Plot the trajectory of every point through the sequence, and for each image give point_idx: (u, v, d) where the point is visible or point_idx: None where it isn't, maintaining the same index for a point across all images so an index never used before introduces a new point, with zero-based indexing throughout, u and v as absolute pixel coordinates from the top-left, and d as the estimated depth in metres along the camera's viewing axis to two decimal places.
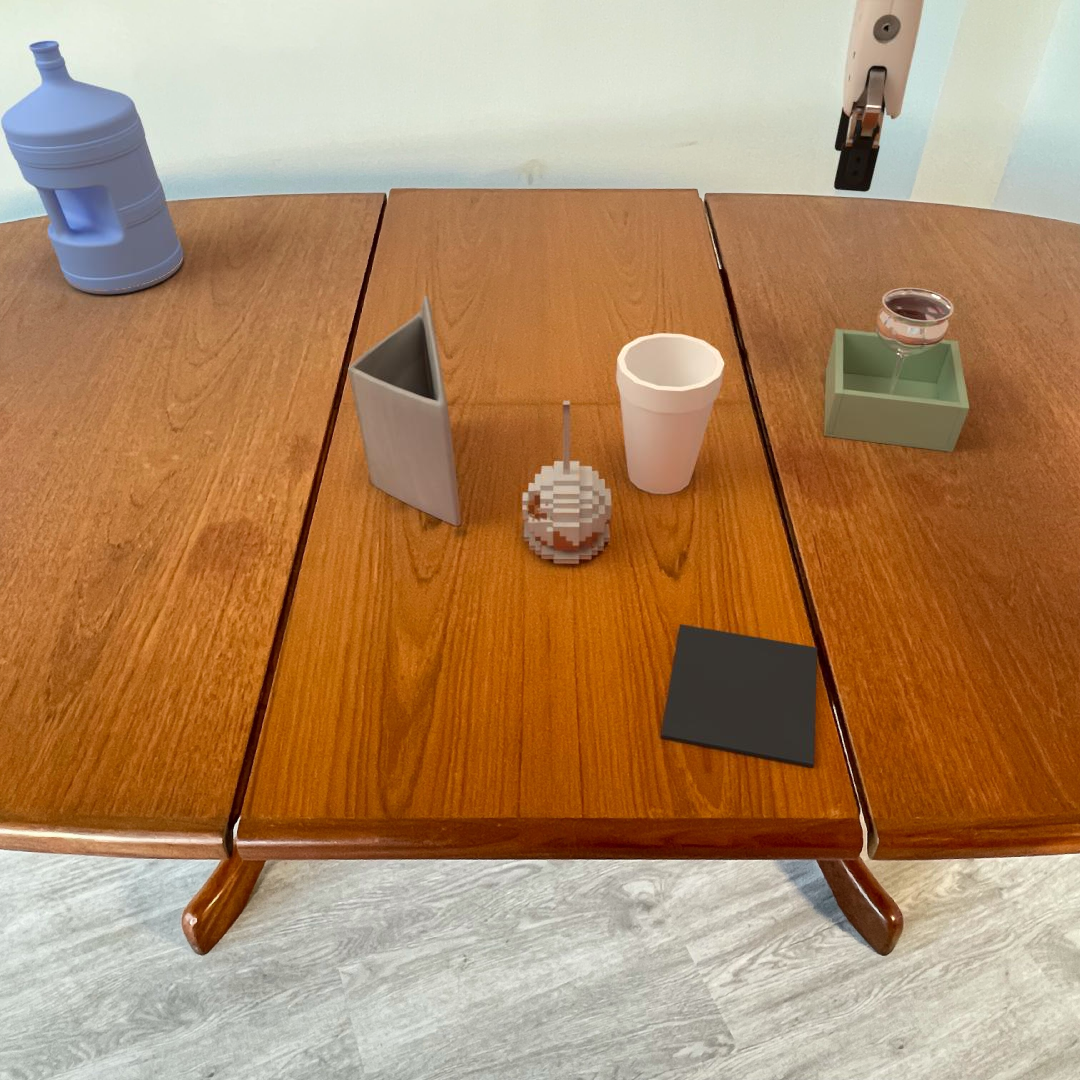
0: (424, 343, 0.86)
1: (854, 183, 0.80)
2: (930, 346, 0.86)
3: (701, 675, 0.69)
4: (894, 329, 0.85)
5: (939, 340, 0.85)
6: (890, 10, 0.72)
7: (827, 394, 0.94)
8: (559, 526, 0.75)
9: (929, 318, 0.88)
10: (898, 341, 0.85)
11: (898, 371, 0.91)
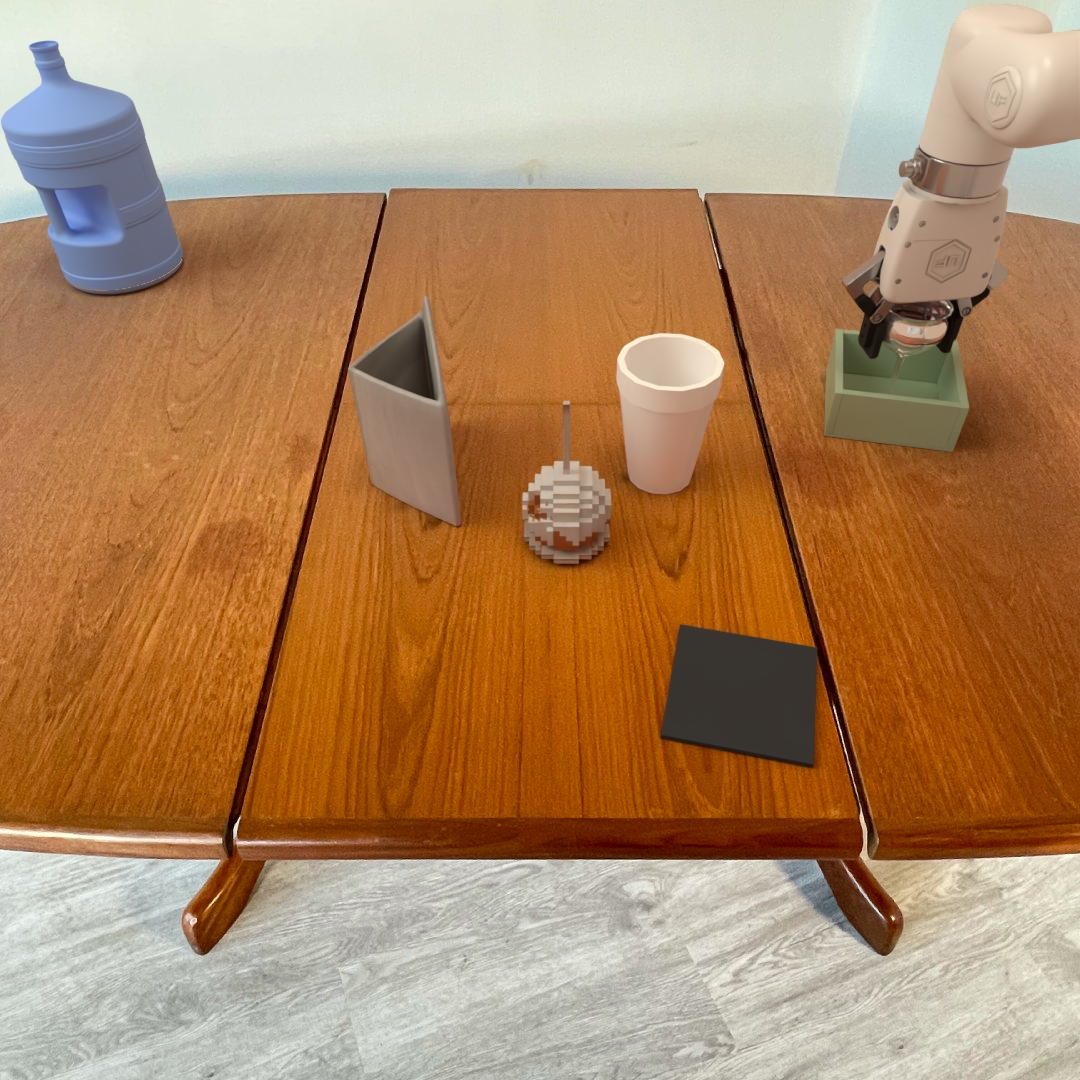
0: (424, 343, 0.86)
1: (860, 344, 0.88)
2: (930, 346, 0.86)
3: (701, 675, 0.69)
4: (894, 329, 0.85)
5: (939, 340, 0.85)
6: (899, 203, 0.78)
7: (827, 394, 0.94)
8: (559, 526, 0.75)
9: (929, 318, 0.88)
10: (898, 341, 0.85)
11: (898, 371, 0.91)
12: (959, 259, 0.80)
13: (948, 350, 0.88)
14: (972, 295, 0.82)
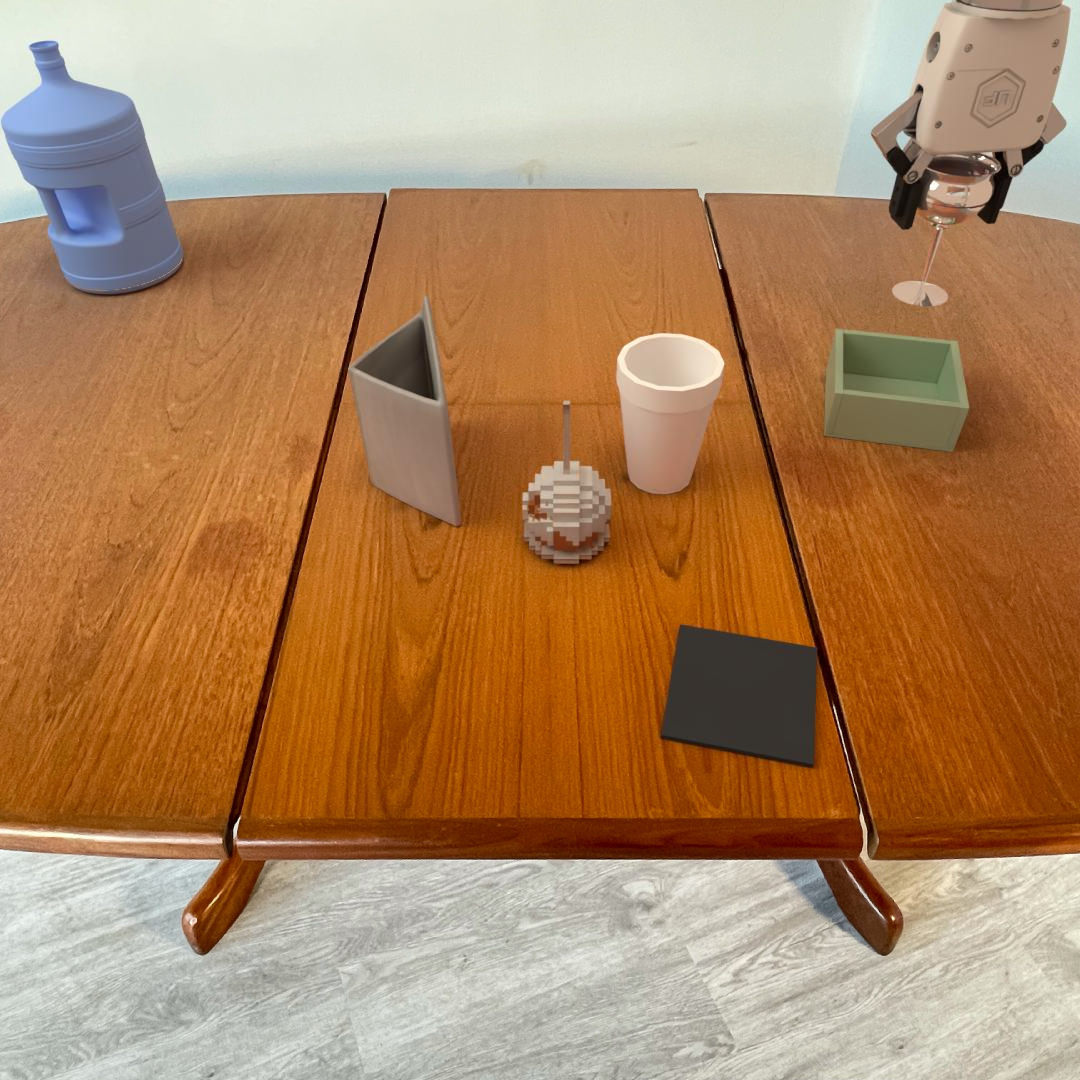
0: (424, 343, 0.86)
1: (891, 213, 0.76)
2: (973, 211, 0.74)
3: (701, 675, 0.69)
4: (932, 190, 0.73)
5: (984, 203, 0.74)
6: (940, 27, 0.67)
7: (827, 394, 0.94)
8: (559, 526, 0.75)
9: None
10: (937, 205, 0.74)
11: (934, 248, 0.79)
12: (1011, 96, 0.68)
13: (993, 220, 0.76)
14: (1024, 145, 0.70)
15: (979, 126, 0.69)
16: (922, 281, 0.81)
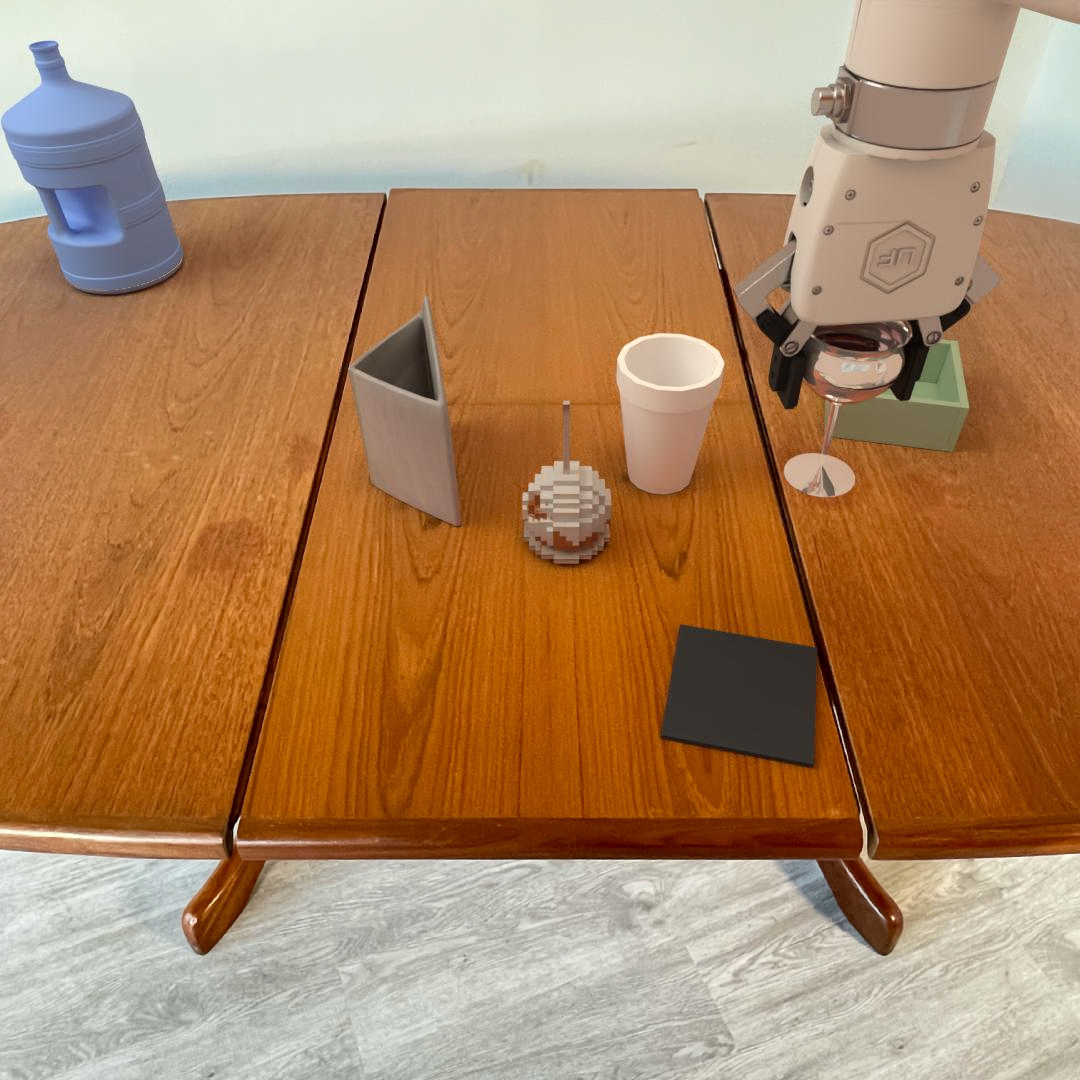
0: (424, 343, 0.86)
1: (771, 387, 0.57)
2: (876, 392, 0.55)
3: (701, 675, 0.69)
4: (818, 365, 0.54)
5: (890, 382, 0.54)
6: (814, 161, 0.47)
7: None
8: (559, 526, 0.75)
9: (878, 346, 0.57)
10: (826, 384, 0.54)
11: (833, 426, 0.60)
12: (916, 255, 0.49)
13: (907, 397, 0.57)
14: (940, 313, 0.51)
15: (874, 292, 0.50)
16: (821, 461, 0.62)
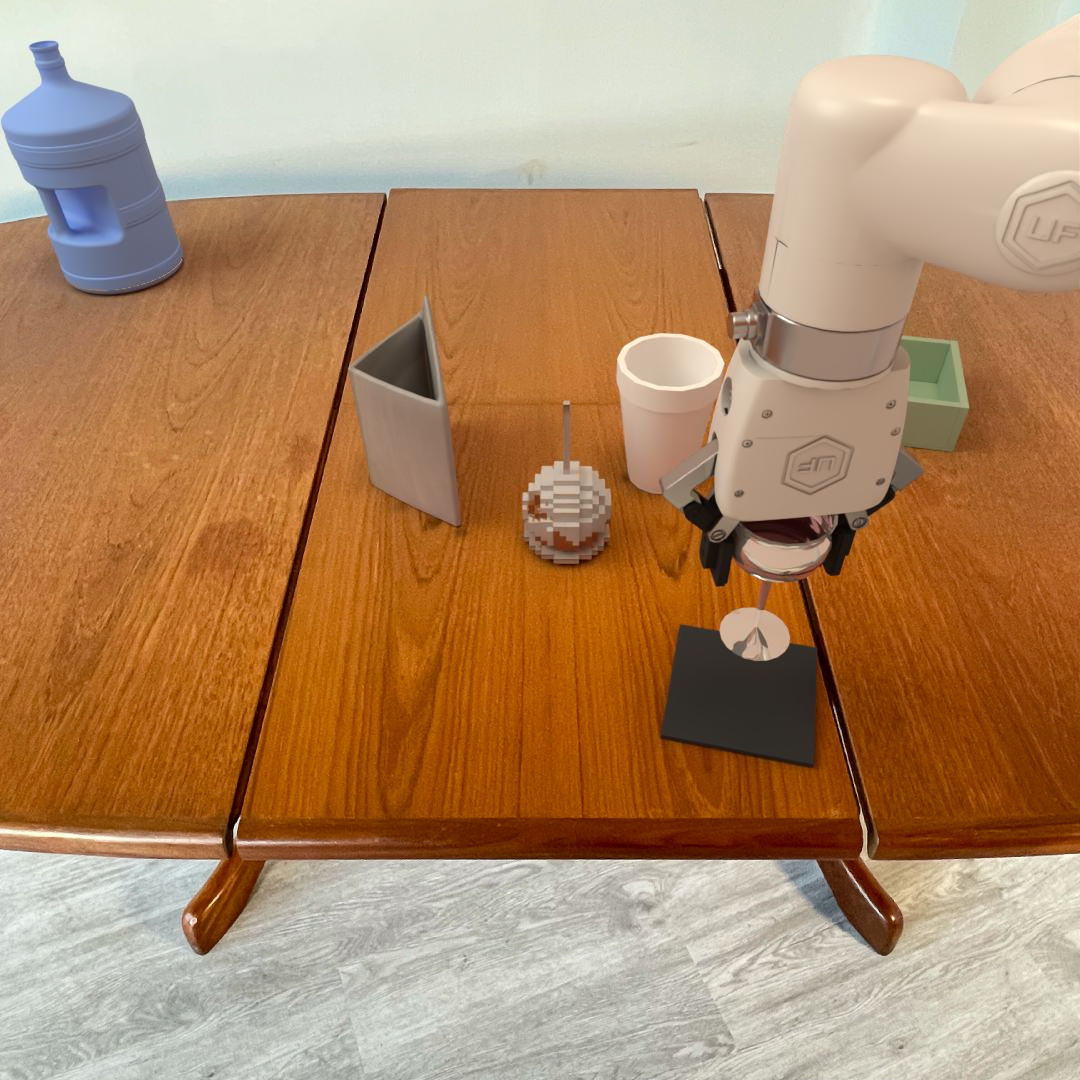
0: (424, 343, 0.86)
1: (701, 563, 0.57)
2: (803, 575, 0.55)
3: (701, 675, 0.69)
4: (746, 550, 0.54)
5: (817, 566, 0.55)
6: (732, 374, 0.47)
7: None
8: (559, 526, 0.75)
9: (808, 521, 0.57)
10: (754, 568, 0.55)
11: (765, 594, 0.60)
12: (836, 462, 0.49)
13: (836, 573, 0.57)
14: (863, 508, 0.52)
15: (796, 494, 0.50)
16: (755, 623, 0.62)
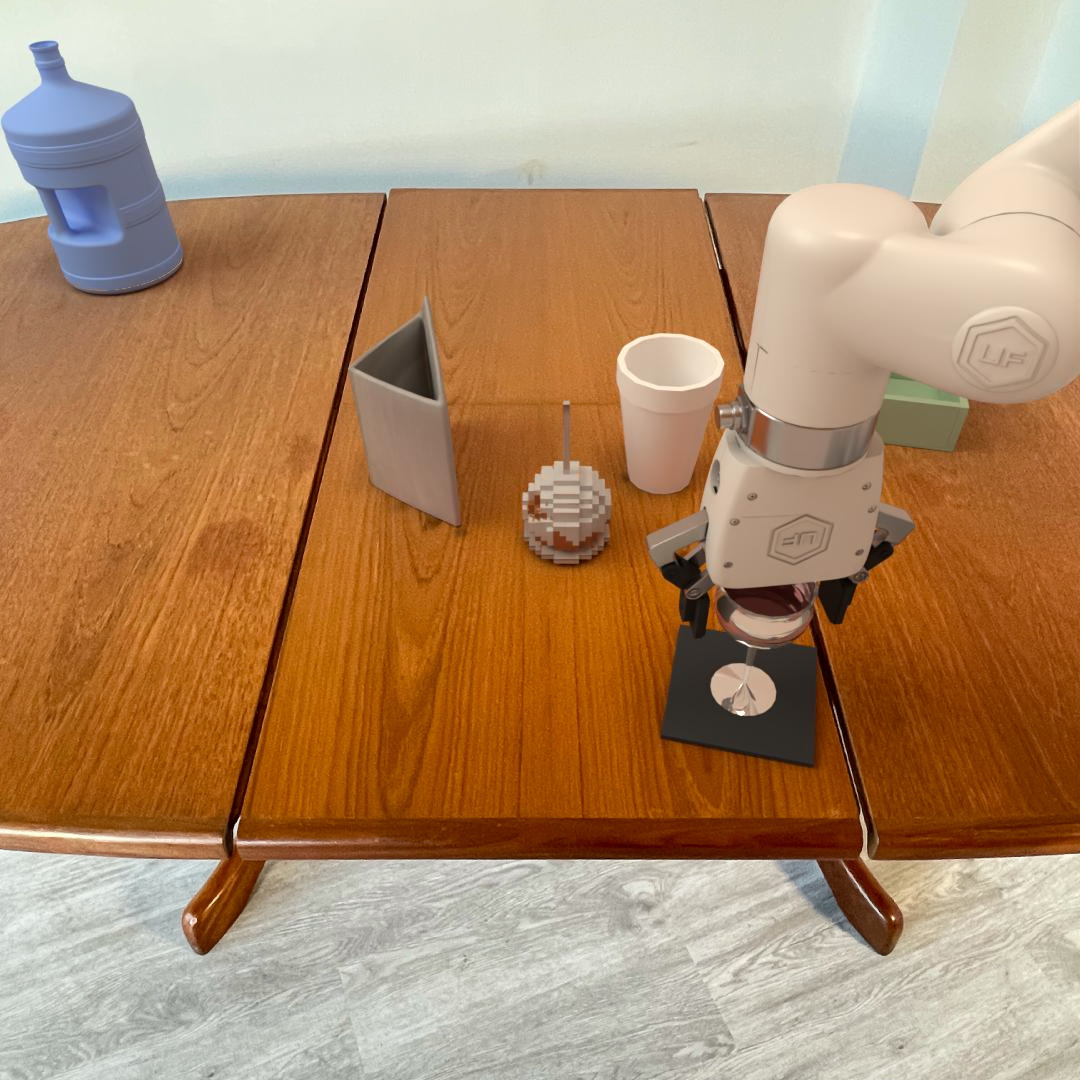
0: (424, 343, 0.86)
1: (680, 616, 0.61)
2: (786, 643, 0.59)
3: (701, 675, 0.69)
4: (733, 620, 0.59)
5: (799, 635, 0.59)
6: (720, 458, 0.51)
7: None
8: (559, 526, 0.75)
9: (791, 589, 0.62)
10: (740, 636, 0.59)
11: (752, 655, 0.64)
12: (817, 536, 0.53)
13: (839, 622, 0.60)
14: (844, 576, 0.55)
15: (781, 564, 0.54)
16: (744, 680, 0.67)
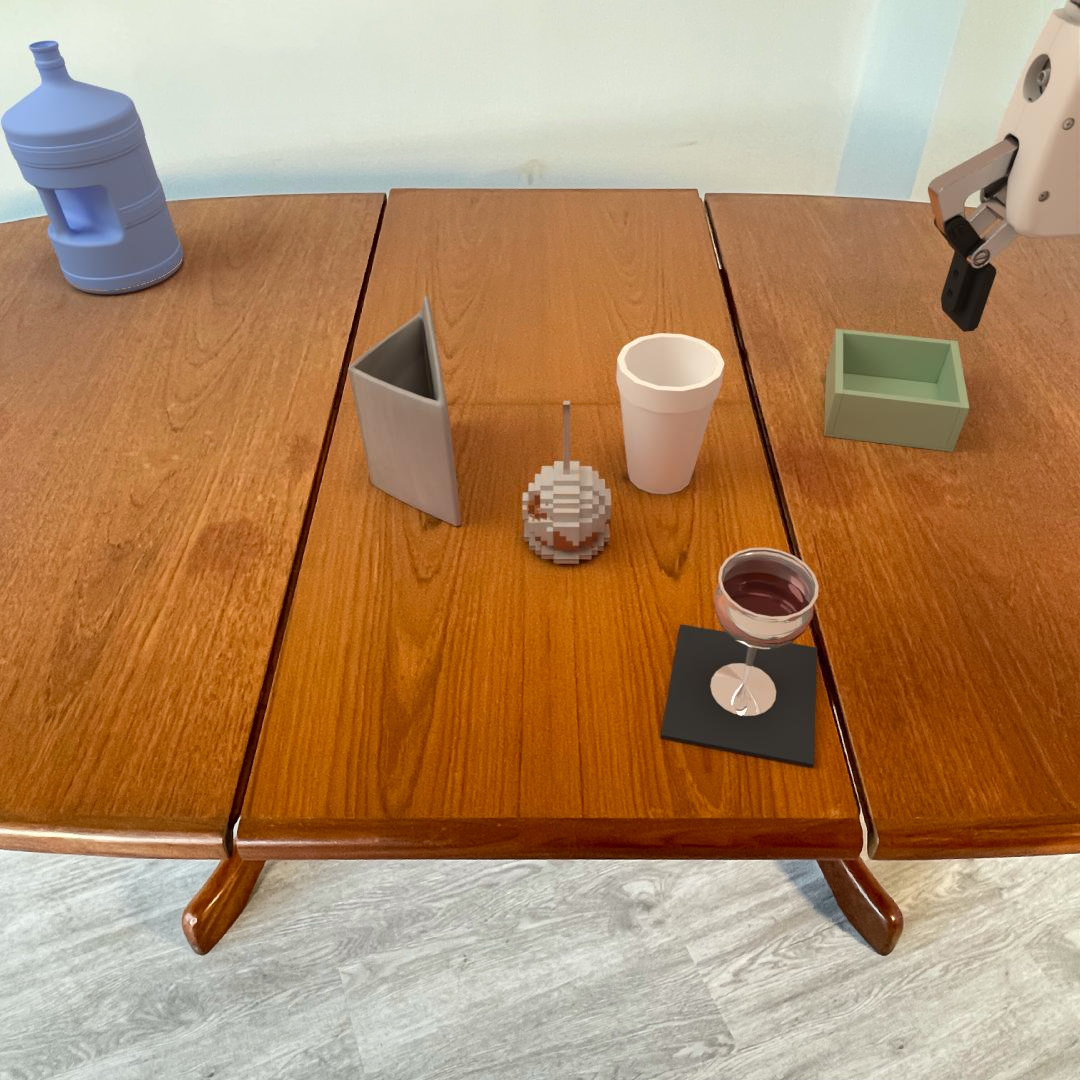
0: (424, 343, 0.86)
1: (946, 308, 0.51)
2: (786, 643, 0.59)
3: (701, 675, 0.69)
4: (733, 620, 0.59)
5: (799, 635, 0.59)
6: (1049, 47, 0.42)
7: (827, 394, 0.94)
8: (559, 526, 0.75)
9: (791, 589, 0.62)
10: (740, 636, 0.59)
11: (752, 655, 0.64)
12: None
13: None
14: None
15: None
16: (744, 680, 0.67)
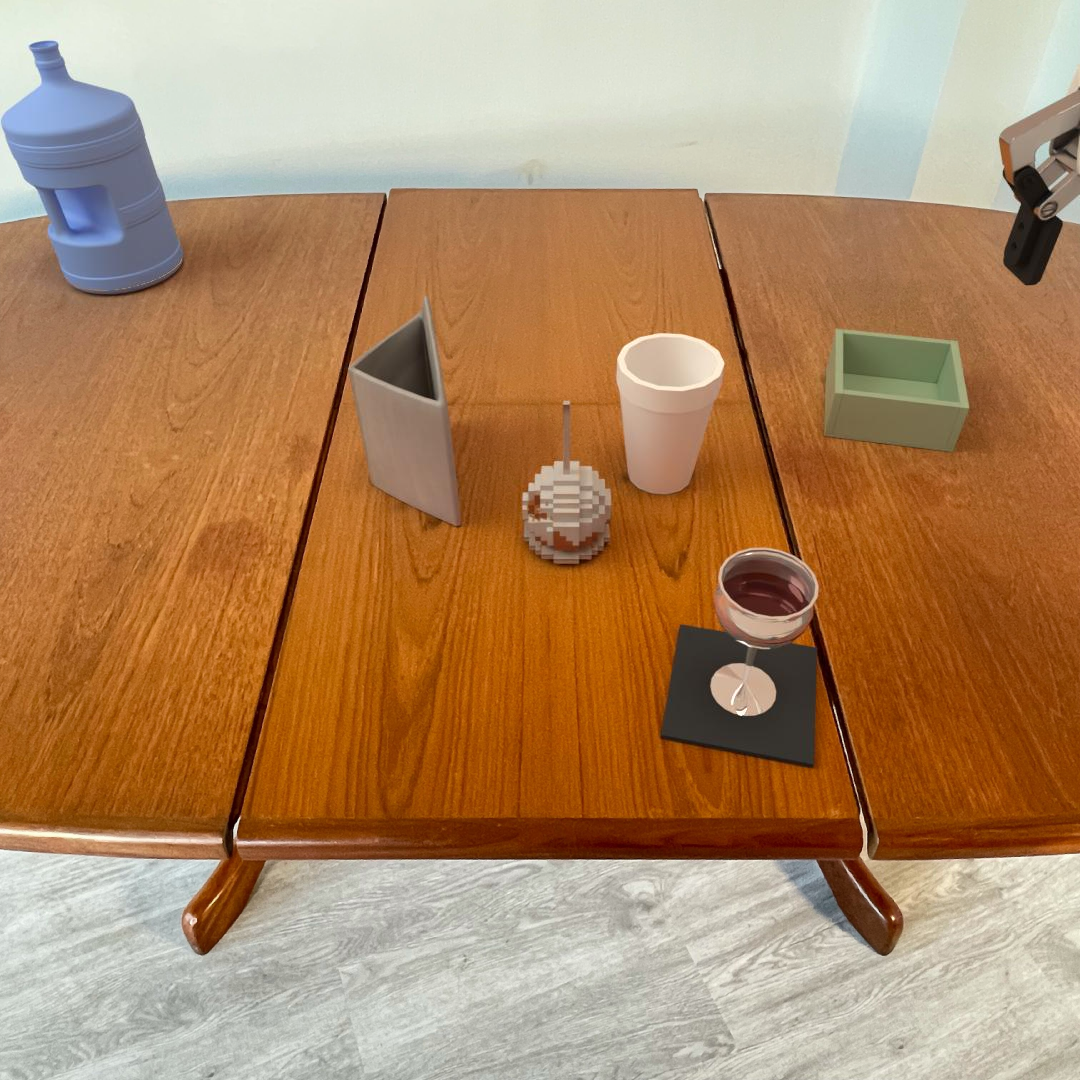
0: (424, 343, 0.86)
1: (1009, 261, 0.52)
2: (786, 643, 0.59)
3: (701, 675, 0.69)
4: (733, 620, 0.59)
5: (799, 635, 0.59)
6: None
7: (827, 394, 0.94)
8: (559, 526, 0.75)
9: (791, 589, 0.62)
10: (740, 636, 0.59)
11: (752, 655, 0.64)
12: None
13: None
14: None
15: None
16: (743, 680, 0.67)
